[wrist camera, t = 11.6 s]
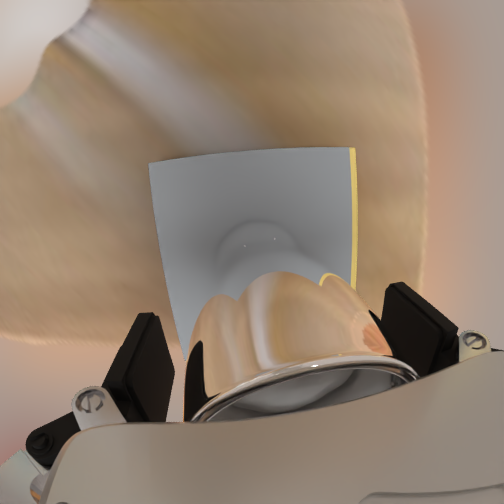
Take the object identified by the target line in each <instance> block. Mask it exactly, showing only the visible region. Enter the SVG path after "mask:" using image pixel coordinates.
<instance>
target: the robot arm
mask: <svg viewBox="0 0 504 504" xmlns="http://www.w3.org/2000/svg"><path fill="white" fill-rule="evenodd" d="M381 322H382V323H383V325H384V326H385V328H386V329H387V330H388V332H389V333H390V335H391V336H392V338H393V339H394V341H395V342H396V344H397V345H398V347H399V348H400V350H401V352H402V353H403V355H404V356H405V358H406V359H407V361H408V362H409V364H410V365H411V367H412V368H413V369H414V370H415V371H416V372H417V373H418V374H419V376H420V377H421V378H419V379H416V380H414V381H411V382H408V383H405V384H402V385H400V386H397V387H394V388H391V389H387V390H384V391H381V392H378V393H374V394H371V395H367V396H364V397H360V398H357V399H353V400H349V401H345V402H341V403H337V404H332V405H328V406H323V407H318V408H314V409H308V410H303V411H297V412H292V413H285V414H279V415H272V416H264V417H256V418H247V419H236V420H222V421H203V422H166V417H167V411H168V406H169V401H170V395H171V390H172V385H173V380H174V375H175V371H174V366H173V363H172V359H171V356H170V353H169V350H168V346H167V343H166V340H165V336H164V333H163V329H162V326H161V322H160V319H159V316H155V315H154V313H153V312H150V313H139V314H138V316H137V318H136V319H135V321H134V323H133V325H132V327H131V329H130V331H129V333H128V335H127V337H126V339H125V341H124V343H123V345H122V346H121V347H120V349H119V351H118V353H117V355H116V357H115V359H114V361H113V363H112V365H111V367H110V369H109V371H108V373H107V375H106V378H105V380H104V382H103V384H102V386H101V387H98V386H90V387H87V388H84V389H82V390H80V391H79V392H78V393H77V394H76V395H75V396H74V398H73V400H72V410H73V411H72V412H70V413H68V414H66V415H64V416H62V417H60V418H58V419H56V420H54V421H52V422H50V423H48V424H46V425H44V426H42V427H40V428H37V429H36V430H34V431H32V432H31V434H30V435H29V436H28V438H27V440H26V450H25V451H23V450H22V449H20V450H19V451H18V452H16V453H15V454H14V455H13V456H12V457H11V458H9V459H8V460H7V461H6V462H5V463H3V464H2V465H1V466H0V504H504V351H503V350H498V349H493V348H491V346H490V342H489V339H488V338H487V337H486V336H485V335H484V334H482V333H480V332H478V331H474V330H467V331H464V332H462V333H461V334H460V336H459V337H458V335H457V331H458V327H457V326H456V325H455V324H454V323H452V322H451V321H450V320H449V319H448V318H447V317H445V316H444V315H443V314H442V313H441V312H439V311H438V310H437V309H435V307H433V306H432V305H431V304H430V303H428V302H427V301H426V300H425V299H424V298H422V297H421V296H420V295H419V294H417V293H416V292H415V291H414V290H412V289H411V288H410V287H409V286H407V285H406V284H405V283H404V282H397V283H392V284H390V285H389V287H388V288H386V291H385V297H384V305H383V311H382V318H381Z"/></svg>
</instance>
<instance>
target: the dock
mask: <svg viewBox="0 0 504 504" xmlns="http://www.w3.org/2000/svg"><path fill="white" fill-rule="evenodd" d="M148 167H149V177H150V185H151V194H152V201H153V209H154V216H155V223H156V229H157V235H158V241H159V247H160V253H161V259H162V264H163V269H164V274H165V279H166V284H167V289H168V294H169V299H170V303H171V308H172V312H173V316H174V320H175V325H176V329H177V333H178V337H179V341H180V344H181V348H182V352H183V355H184V359H185V361H187V355H188V348H189V342H190V338H191V334H192V331H193V327H194V324H195V320H196V317H197V314H198V311H199V309H200V307H201V305H202V303H203V301H204V299H205V297H206V295H207V293H208V291H209V289H210V287H211V286H212V284H213V283H214V281H215V280H216V278H217V274H216V268H215V260H216V254H217V250H218V248H219V246H220V244H221V242H222V241H223V239H224V238H225V237H226V236H227V235H228V234H229V233H230V232H231V231H232V230H233V229H235V228H236V227H238V226H240V225H242V224H245V223H249V222H254V221H266V222H271V223H274V224H277V225H279V226H281V227H282V228H284V229H285V230H287V231H288V232H289V233H290V234H291V235H292V236H293V238H294V239H295V241H296V242H297V244H298V246H299V249H300V252H301V253H302V254H304V255H306V256H308V257H310V258H312V259H314V260H316V261H318V262H320V263H321V264H323V265H324V266H326V267H327V268H329V269H331V270H332V271H334V272H335V273H336V274H338V275H339V276H340V277H341V278H342V279H344V280H345V281H346V282H347V283H348V284H349V285H350V286H351V287H352V288H353V289H354V290H355V288H356V270H357V240H358V202H357V173H356V155H355V148H349V147H305V148H278V149H262V150H248V151H236V152H226V153H216V154H208V155H200V156H192V157H185V158H178V159H171V160H165V161H159V162H153V163H148Z"/></svg>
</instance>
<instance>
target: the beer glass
mask: <svg viewBox="0 0 504 504" xmlns="http://www.w3.org/2000/svg"><path fill="white" fill-rule="evenodd" d="M215 268H216V274H217V278H216V280H215V281H214V283H213V284H212V286H211V287H210V289H209V291H208V293H207V295H206V297H205V299H204V301H203V303H202V305H201V307H200V309H199V311H198V314H197V317H196V320H195V324H194V327H193V331H192V334H191V338H190V342H189V348H188V355H187V361H186V368H185V382H184V396H183V422H203V421H222V420H236V419H247V418H256V417H264V416H272V415H279V414H285V413H292V412H297V411H303V410H308V409H314V408H318V407H323V406H328V405H332V404H337V403H341V402H345V401H349V400H353V399H357V398H360V397H364V396H367V395H371V394H374V393H378V392H381V391H384V390H387V389H391V388H394V387H397V386H400V385H402V384H405V383H408V382H411V381H414V380H416V379H419V378H421V377H420V376H419V374H418V373H417V372H416V371H415V370H414V369H413V368H412V367H411V365H410V364H409V362H408V361H407V359H406V358H405V356H404V355H403V353H402V352H401V350H400V348H399V347H398V345H397V344H396V342H395V341H394V339H393V338H392V336H391V335H390V333H389V332H388V330H387V329H386V328H385V326H384V325H383V323H382V322H381V321H380V319H379V318H378V316H377V315H376V314H375V313H374V311H373V310H372V309H371V308H370V307H369V305H368V304H367V303H366V302H365V301H364V299H363V298H362V297H361V296H360V295H359V294H358V293H357V292H356V291H355V290H354V289H353V288H352V287H351V286H350V285H349V284H348V283H347V282H346V281H345V280H344V279H342V278H341V277H340V276H339V275H338V274H336V273H335V272H334V271H332V270H331V269H329V268H327V267H326V266H324V265H323V264H321V263H320V262H318V261H316V260H314V259H312V258H310V257H308V256H306V255H304V254H302V253H301V252H300V249H299V246H298V244H297V242H296V241H295V239H294V238H293V236H292V235H291V234H290V233H289V232H288V231H287V230H285V229H284V228H282V227H281V226H279V225H277V224H274V223H271V222H266V221H254V222H249V223H245V224H242V225H240V226H238V227H236V228H235V229H233V230H232V231H231V232H230V233H229V234H228V235H227V236H226V237H225V238H224V239H223V241H222V242H221V244H220V246H219V248H218V250H217V254H216V260H215Z"/></svg>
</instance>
